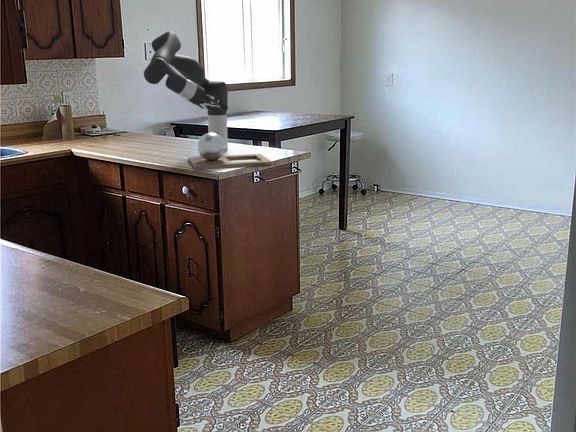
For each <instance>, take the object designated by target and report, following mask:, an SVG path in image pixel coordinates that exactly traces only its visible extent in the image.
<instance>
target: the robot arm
mask: <svg viewBox="0 0 576 432" xmlns="http://www.w3.org/2000/svg"><path fill="white" fill-rule="evenodd" d="M181 47H182V43H181V41H180V38H179V37H178V35H177V34H176V33H175V32H174V31H171V30H169V31H166V32H164V33H162V34H161V35H159V36H157V37H155V39H153V40H152V41H151V48H152V50H153V52H154V54H153V56H152V58H151V60H150V62H149V64H148V65H147V66H146V67H145V69H144V70H143V77H144V80H145V81H146V82H147V83H148V84H151V85H157V84H159V83H160V82H161V81H162V80H163V79H164V77H165V76H166V75H167V77H166V80H165V88H167V89H169V91H172V92H173V93H175V94H177V95H178V96H180V97H181V98H183V99H184V100H185V101H188V102H189V103H191V104H193V105H194V106H195V105H196V106H197V107H199V108H200V109H202V110H207V126H208V128H207V130H208V133H216V134H218V135H220V136H221V137H222V138H223V140H224V142H225V151H226V150H228V148H229V147H228V144H229V143H228V122H227V121H228V115H227V111H228V109H229V106H228V103H229V102H228V96H229V95H228V92H229V91H228V86H227V84H226V82H224V81H223V80H222V81H220V80H218V81H217V80H215V81H213V80H209V79H207V78H206V76H205V69H204V67H203V66H202V64H200V62H198V61H197V60H196V59H195V58H194V57H191V56H187V55H181V54H178V52H179V51H180V50H181ZM176 53H177V54H176ZM177 71H178V72H177Z"/></svg>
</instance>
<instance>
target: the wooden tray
mask: <svg viewBox="0 0 576 432" xmlns="http://www.w3.org/2000/svg"><path fill="white" fill-rule="evenodd" d="M239 160H247V161H239ZM249 160H250V161H249ZM187 162H188V163H189V164H190V165H191V167H192V168H193V169H194V170H210V169H225V168H226V169H227V168H242V167H243V168H245V167H247V168H248V167H263V166H272V165H273V161H272V160H270V159H269V158H267V157H266V156H265V155H263V154H261V153H249V154H247V153H246V154H232V155H231V154H229V155H222V157H221V158H219V159H217V160H214V161H209V160H206V159H204V158H203V157H202V156H193V157H187Z"/></svg>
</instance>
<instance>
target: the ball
mask: <svg viewBox="0 0 576 432" xmlns="http://www.w3.org/2000/svg"><path fill="white" fill-rule="evenodd" d="M196 146H197V151H198V152H197V153H199V155H200V157H203V158H204V159H206V160H209V161H214V160H217V159H219V158H221V157H222V156H224V154H225V152H226V150H225V142H224V140H223V138H222V137H221V136H220V135H218V134H216V133H209V132H207V133H205V134H203V135H202V136H201V137H200V138H199V139H198V141H197V145H196Z"/></svg>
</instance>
